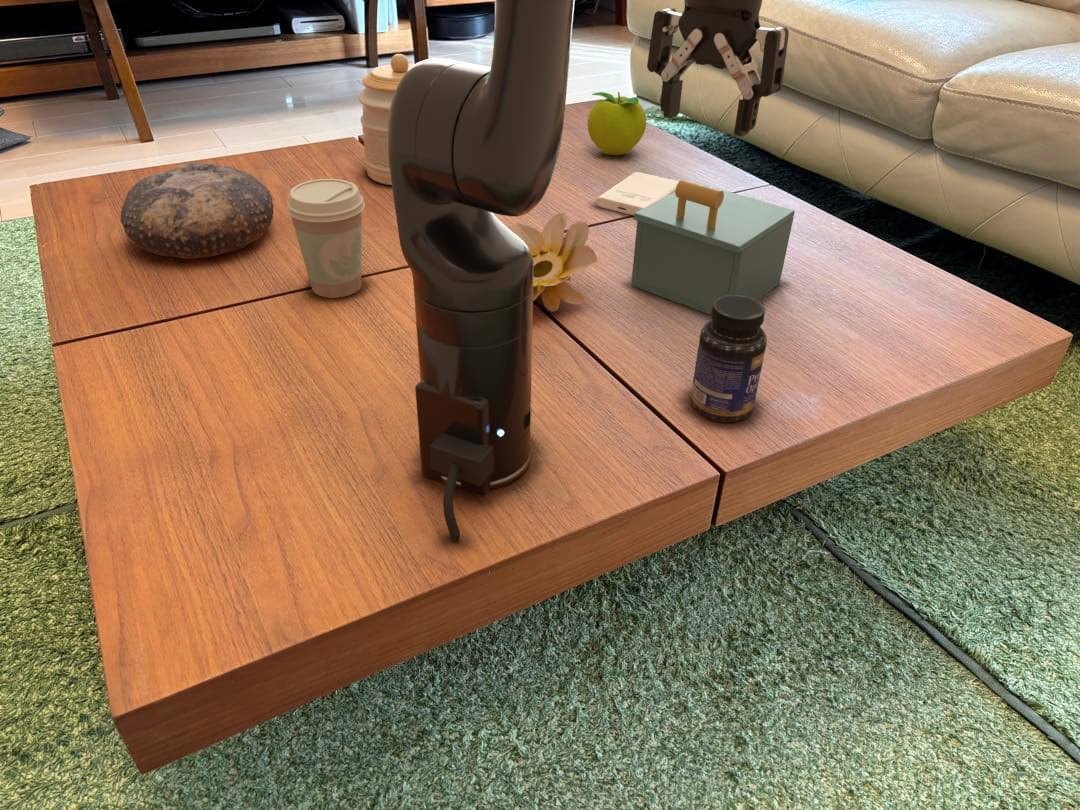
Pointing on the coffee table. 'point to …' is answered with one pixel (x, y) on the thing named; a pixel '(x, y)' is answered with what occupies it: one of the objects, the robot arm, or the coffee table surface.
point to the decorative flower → (557, 258)
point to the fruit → (616, 123)
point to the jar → (379, 115)
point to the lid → (714, 216)
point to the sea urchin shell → (196, 211)
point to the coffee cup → (329, 234)
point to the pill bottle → (729, 359)
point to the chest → (706, 266)
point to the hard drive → (636, 193)
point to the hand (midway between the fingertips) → (705, 125)
